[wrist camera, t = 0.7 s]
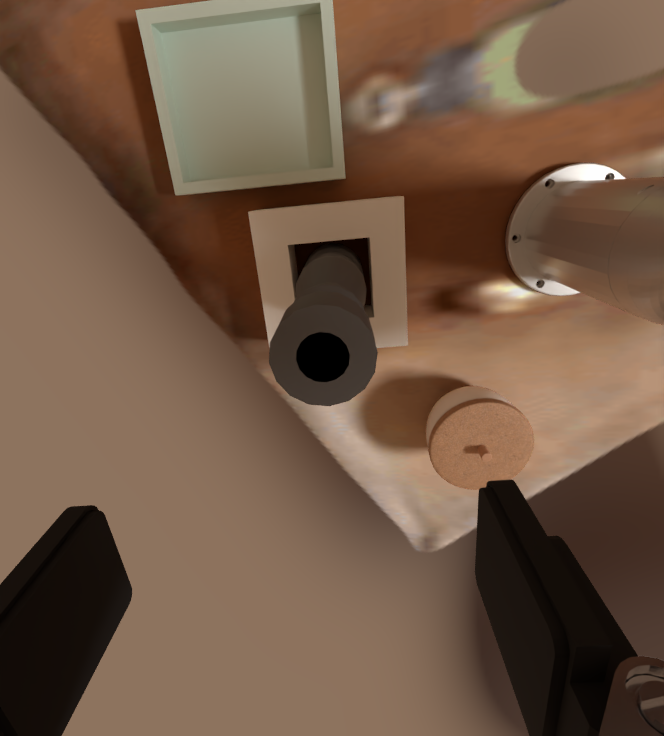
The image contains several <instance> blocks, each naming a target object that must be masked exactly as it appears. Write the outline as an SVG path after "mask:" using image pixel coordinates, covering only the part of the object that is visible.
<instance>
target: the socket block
mask: <svg viewBox="0 0 664 736" xmlns="http://www.w3.org/2000/svg"><path fill="white" fill-rule="evenodd" d="M248 215H249V221H250V228H251V234H252V240H253V247H254V253H255V259H256V266H257V272H258V278H259V285H260V291H261V298H262V304H263V310H264V317H265V323H266V329H267V336H268V342H269V348H270V342H271V339H272V337H273V335H274V333H275V331H276V329H277V327H278V325H279V323H280V321H281V319H282V317H283V315H284V313H285V311H286V309H287V308H288V307H289V306H290V305H292V304H293V303H294V301H295V299H296V282H297V280H298V271H297V263H296V255H295V247H294V244H304V243H314V242H325V241H336V240H346V239H357V238H367V240H368V258H369V275H370V292H371V305H365V306H363V308H364V311H365V313H366V314H367V315H368V317H369V320H370V323H371V327H372V330H373V334H374V338H375V343H376V348H382V347H395V346H408V332H407V294H406V255H405V217H404V196H391V197H381V198H371V199H361V200H350V201H340V202H330V203H320V204H310V205H300V206H290V207H280V208H269V209H259V210H254V211H249V212H248Z"/></svg>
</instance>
